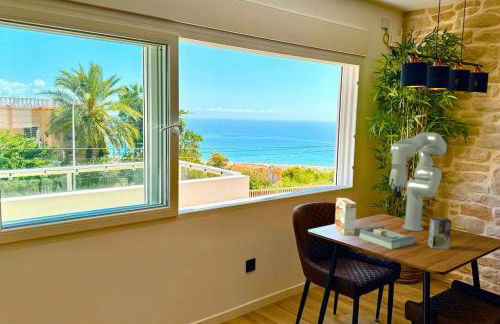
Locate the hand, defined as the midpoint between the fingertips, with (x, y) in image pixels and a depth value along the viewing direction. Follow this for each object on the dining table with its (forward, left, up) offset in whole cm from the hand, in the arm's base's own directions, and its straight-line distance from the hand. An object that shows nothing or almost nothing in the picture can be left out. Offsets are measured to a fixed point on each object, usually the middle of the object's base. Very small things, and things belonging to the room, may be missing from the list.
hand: (397, 197), depth 231 cm
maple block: (+17, +3, -20) cm, 27 cm away
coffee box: (-6, +24, -24) cm, 34 cm away
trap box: (+11, +3, -23) cm, 26 cm away
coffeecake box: (+20, -21, -24) cm, 37 cm away
